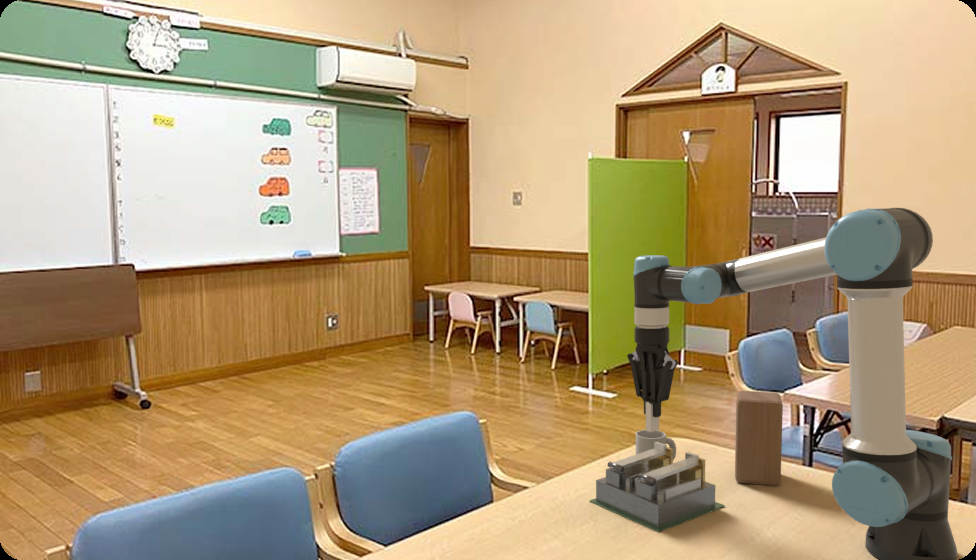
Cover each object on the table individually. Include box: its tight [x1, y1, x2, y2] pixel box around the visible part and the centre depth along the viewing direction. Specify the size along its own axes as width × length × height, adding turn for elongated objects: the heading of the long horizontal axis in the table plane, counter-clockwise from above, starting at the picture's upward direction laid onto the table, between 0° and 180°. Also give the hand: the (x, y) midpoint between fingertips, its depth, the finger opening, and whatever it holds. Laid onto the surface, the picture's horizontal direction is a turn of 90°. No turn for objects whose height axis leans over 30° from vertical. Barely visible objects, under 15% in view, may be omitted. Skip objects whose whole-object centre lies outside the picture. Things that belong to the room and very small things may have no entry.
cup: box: [635, 429, 677, 465], centre depth 194 cm, size 7×10×9 cm
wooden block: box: [734, 390, 784, 487], centre depth 187 cm, size 10×10×20 cm
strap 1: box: [638, 451, 700, 484], centre depth 168 cm, size 4×15×2 cm, turn 126°
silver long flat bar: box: [607, 442, 668, 472], centre depth 175 cm, size 4×15×2 cm, turn 126°
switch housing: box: [589, 446, 726, 533], centre depth 172 cm, size 20×21×10 cm
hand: (652, 430), depth 176 cm, fingers closed
